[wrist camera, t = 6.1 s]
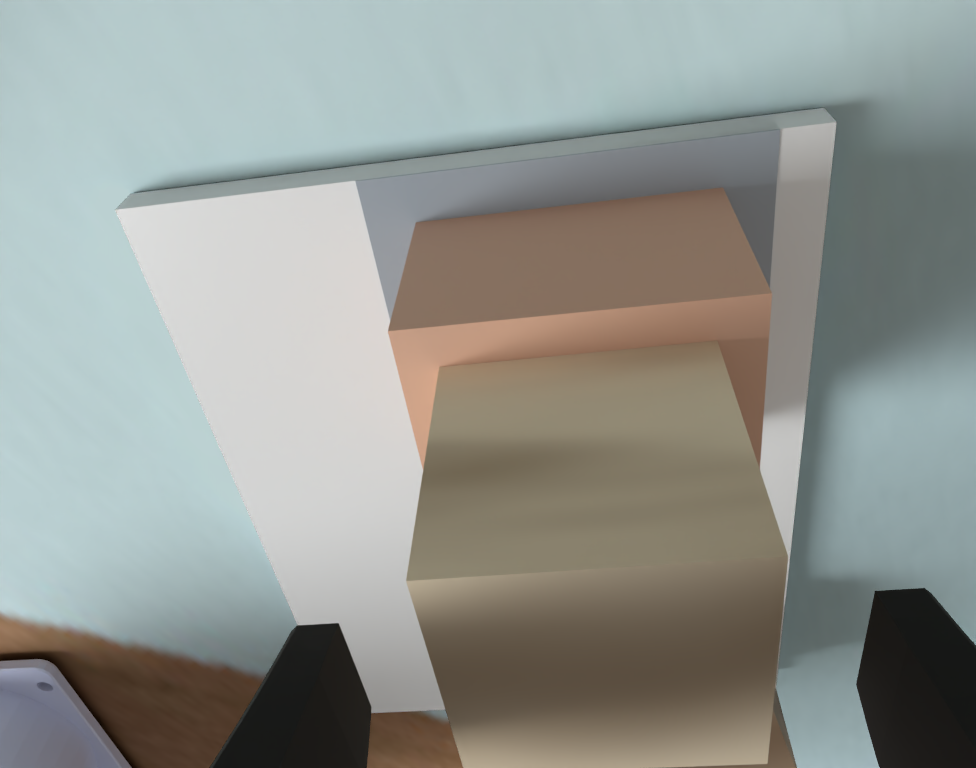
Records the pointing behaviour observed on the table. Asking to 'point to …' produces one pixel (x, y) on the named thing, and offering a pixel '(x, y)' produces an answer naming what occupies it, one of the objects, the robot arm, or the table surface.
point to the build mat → (368, 352)
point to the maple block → (598, 563)
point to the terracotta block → (582, 291)
